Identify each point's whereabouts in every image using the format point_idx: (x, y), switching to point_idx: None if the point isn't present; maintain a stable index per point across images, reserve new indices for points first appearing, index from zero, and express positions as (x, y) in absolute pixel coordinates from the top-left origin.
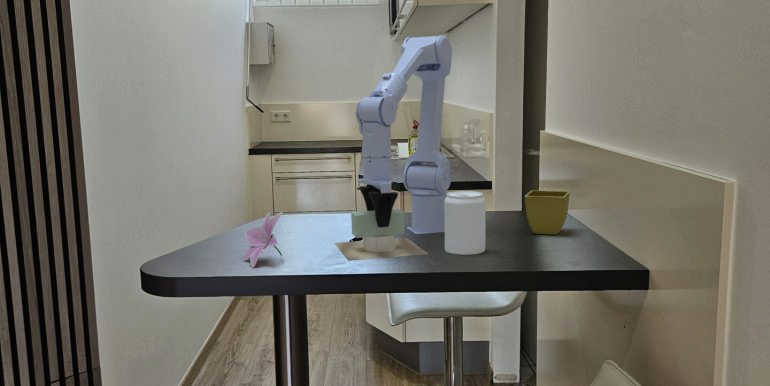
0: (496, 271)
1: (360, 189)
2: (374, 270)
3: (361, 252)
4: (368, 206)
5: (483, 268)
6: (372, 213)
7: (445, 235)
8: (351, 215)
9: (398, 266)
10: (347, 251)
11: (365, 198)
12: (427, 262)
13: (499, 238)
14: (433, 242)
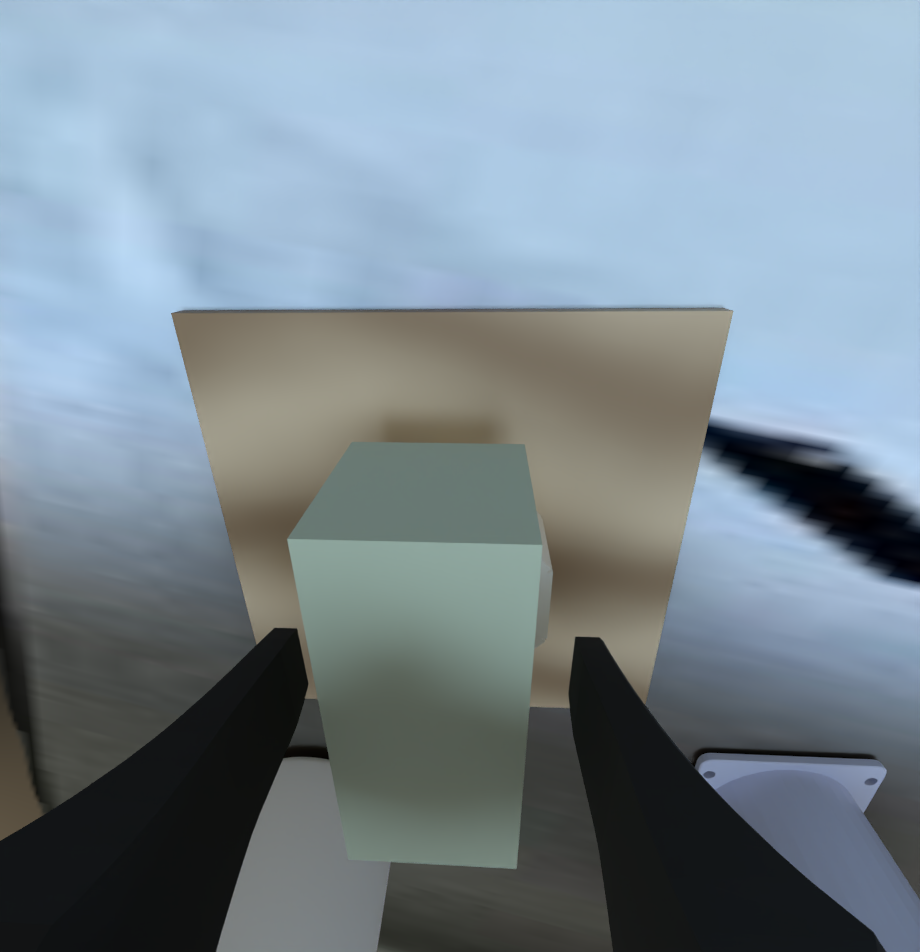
0: (46, 787)
1: (758, 950)
2: (31, 421)
3: (370, 434)
4: (608, 740)
5: (85, 772)
6: (373, 693)
7: (283, 831)
8: (526, 523)
9: (115, 543)
10: (425, 356)
11: (643, 817)
12: (183, 658)
13: (508, 920)
14: (540, 766)
